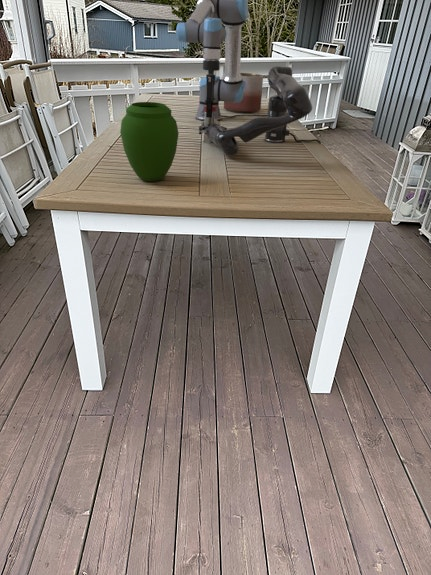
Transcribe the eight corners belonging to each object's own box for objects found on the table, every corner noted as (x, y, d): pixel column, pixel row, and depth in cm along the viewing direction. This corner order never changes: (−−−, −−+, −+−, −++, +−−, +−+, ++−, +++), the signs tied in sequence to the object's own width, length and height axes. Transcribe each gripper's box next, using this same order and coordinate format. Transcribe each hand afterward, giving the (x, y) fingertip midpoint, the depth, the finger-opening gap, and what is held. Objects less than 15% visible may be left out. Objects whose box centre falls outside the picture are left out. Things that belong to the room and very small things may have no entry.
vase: (131, 189, 135) (125, 110, 122) (118, 172, 150) (112, 100, 137) (186, 184, 142) (187, 109, 129) (169, 168, 157) (167, 99, 144)
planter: (264, 113, 274) (268, 77, 262) (227, 113, 270) (229, 75, 258) (255, 107, 295) (258, 73, 283) (220, 106, 291) (222, 72, 279)
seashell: (219, 131, 220) (219, 115, 216) (220, 133, 215) (221, 117, 211) (201, 130, 219) (202, 114, 214) (202, 133, 214) (203, 116, 210)
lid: (218, 111, 191) (218, 106, 190) (208, 112, 188) (208, 107, 187) (210, 109, 195) (210, 104, 194) (201, 110, 192) (201, 105, 191)
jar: (210, 143, 196) (211, 108, 188) (201, 141, 198) (202, 107, 190) (215, 141, 200) (217, 107, 191) (207, 140, 202) (208, 106, 193)
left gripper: (204, 58, 188) (203, 112, 201) (200, 60, 173) (199, 119, 185) (221, 59, 188) (218, 113, 200) (218, 61, 172) (216, 120, 185)
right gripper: (201, 143, 184) (193, 135, 198) (231, 142, 188) (221, 134, 201) (202, 125, 180) (193, 118, 194) (232, 125, 184) (222, 118, 197)
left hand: (209, 116), depth 193 cm, fingers closed on lid, 5 cm apart
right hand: (207, 126), depth 198 cm, fingers closed on jar, 5 cm apart
